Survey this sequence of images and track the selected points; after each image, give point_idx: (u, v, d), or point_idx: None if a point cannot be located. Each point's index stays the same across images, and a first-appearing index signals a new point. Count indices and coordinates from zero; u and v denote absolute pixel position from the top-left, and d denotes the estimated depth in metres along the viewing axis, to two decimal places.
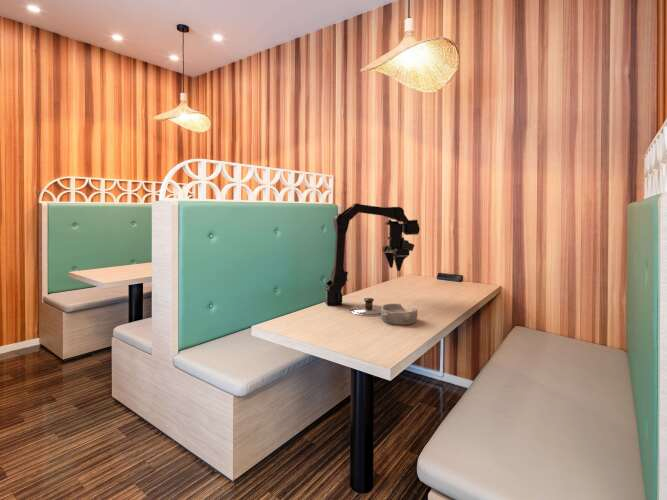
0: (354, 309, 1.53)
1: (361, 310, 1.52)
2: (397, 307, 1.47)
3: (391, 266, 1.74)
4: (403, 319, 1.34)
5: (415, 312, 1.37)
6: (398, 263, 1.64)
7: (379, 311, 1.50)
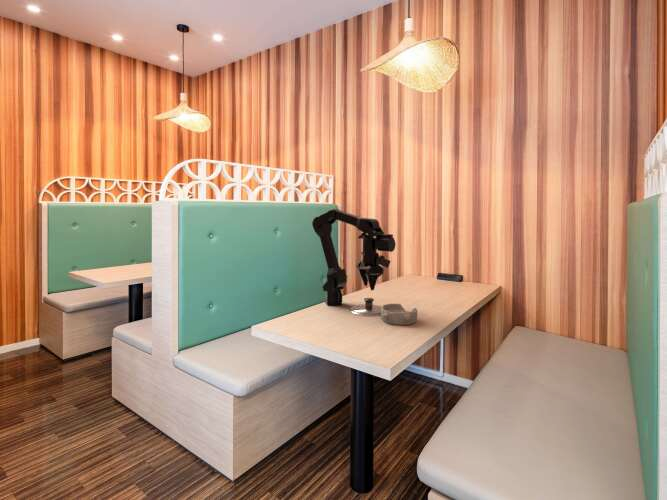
0: (354, 309, 1.53)
1: (361, 310, 1.52)
2: (397, 307, 1.47)
3: (365, 284, 1.58)
4: (403, 319, 1.34)
5: (415, 312, 1.37)
6: (371, 282, 1.48)
7: (379, 311, 1.50)
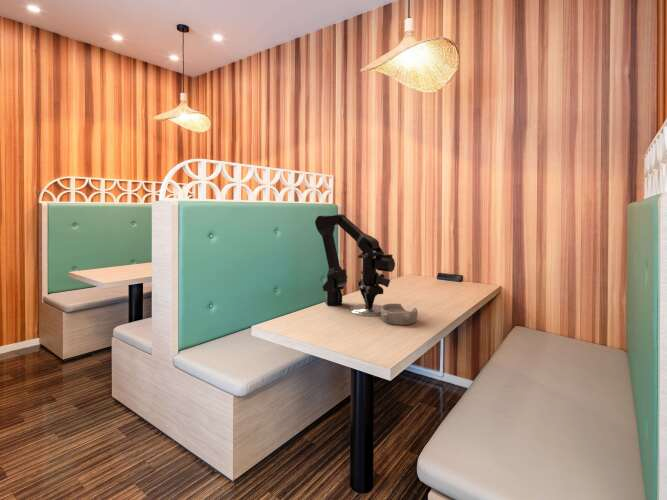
0: (354, 308, 1.53)
1: (361, 309, 1.52)
2: (397, 307, 1.47)
3: None
4: (403, 319, 1.34)
5: (415, 312, 1.37)
6: (369, 300, 1.51)
7: (379, 310, 1.50)
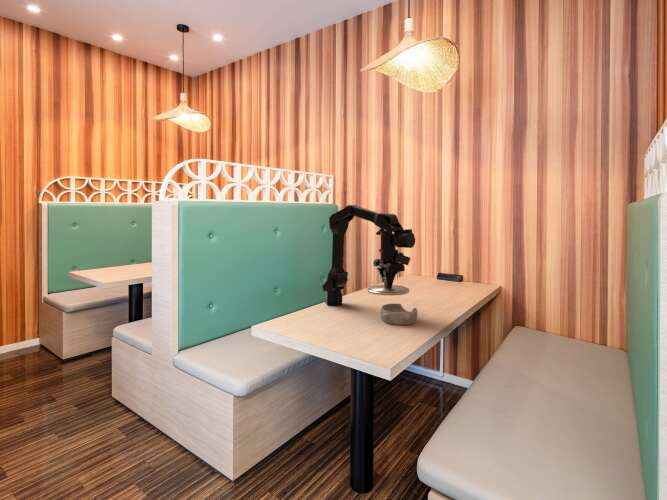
0: (373, 288, 1.44)
1: (380, 289, 1.42)
2: (397, 307, 1.47)
3: None
4: (403, 319, 1.34)
5: (415, 312, 1.37)
6: (389, 279, 1.41)
7: (400, 289, 1.41)
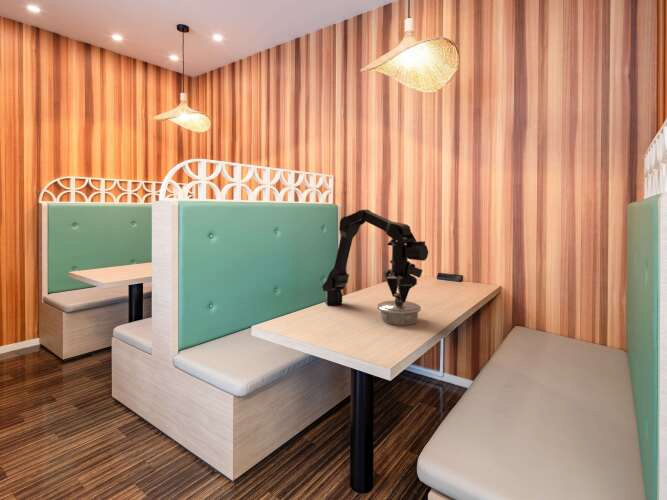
0: (383, 305, 1.39)
1: (391, 306, 1.38)
2: None
3: None
4: (403, 319, 1.34)
5: None
6: (403, 293, 1.34)
7: (411, 307, 1.37)
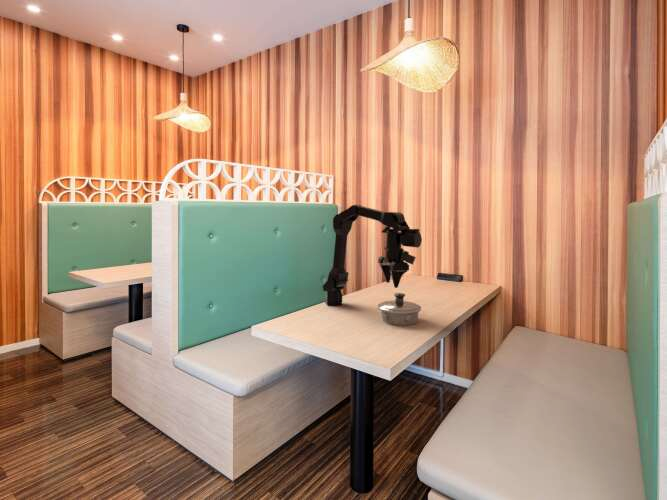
0: (383, 305, 1.40)
1: (391, 306, 1.38)
2: None
3: (388, 281, 1.50)
4: (403, 319, 1.35)
5: None
6: (396, 279, 1.40)
7: (411, 307, 1.37)
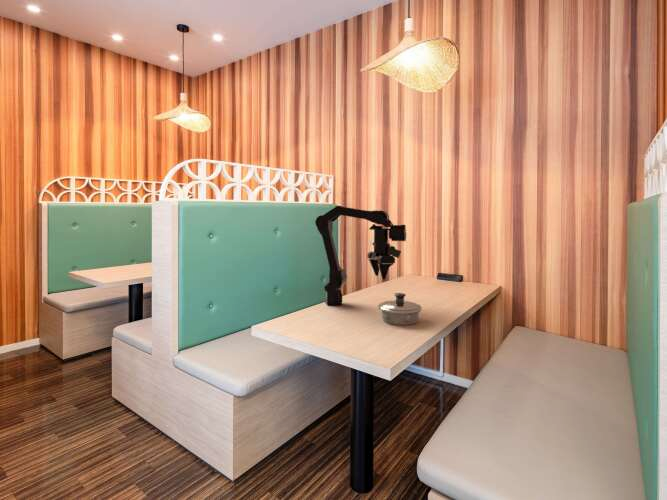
0: (383, 305, 1.40)
1: (391, 306, 1.38)
2: None
3: (376, 274, 1.63)
4: (403, 319, 1.35)
5: None
6: (383, 271, 1.52)
7: (411, 307, 1.36)
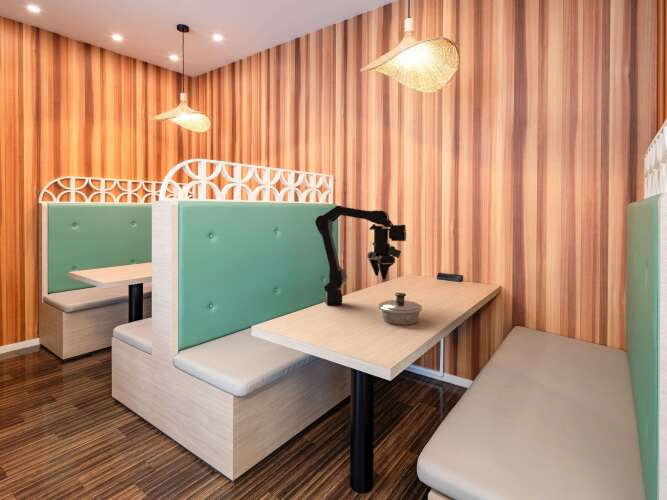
0: (384, 305, 1.40)
1: (392, 306, 1.38)
2: None
3: (376, 274, 1.63)
4: (404, 319, 1.35)
5: None
6: (383, 271, 1.52)
7: (412, 307, 1.37)
